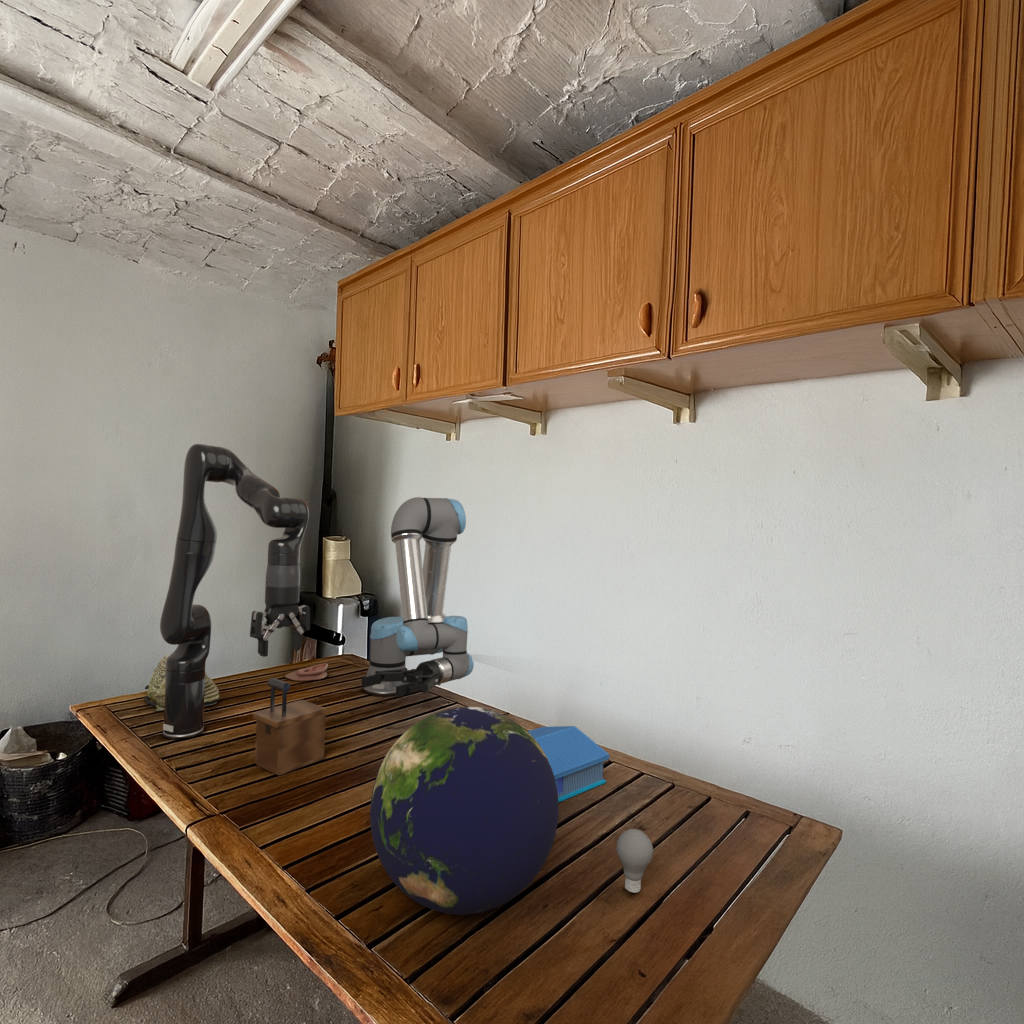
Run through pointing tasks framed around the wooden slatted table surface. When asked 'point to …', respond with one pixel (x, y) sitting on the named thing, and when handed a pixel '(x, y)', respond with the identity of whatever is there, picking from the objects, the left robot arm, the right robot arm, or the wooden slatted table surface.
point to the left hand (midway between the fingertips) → (280, 652)
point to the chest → (290, 744)
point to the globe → (464, 810)
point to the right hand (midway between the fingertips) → (379, 687)
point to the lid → (286, 708)
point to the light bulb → (634, 857)
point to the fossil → (158, 687)
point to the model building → (571, 759)
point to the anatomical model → (309, 673)
